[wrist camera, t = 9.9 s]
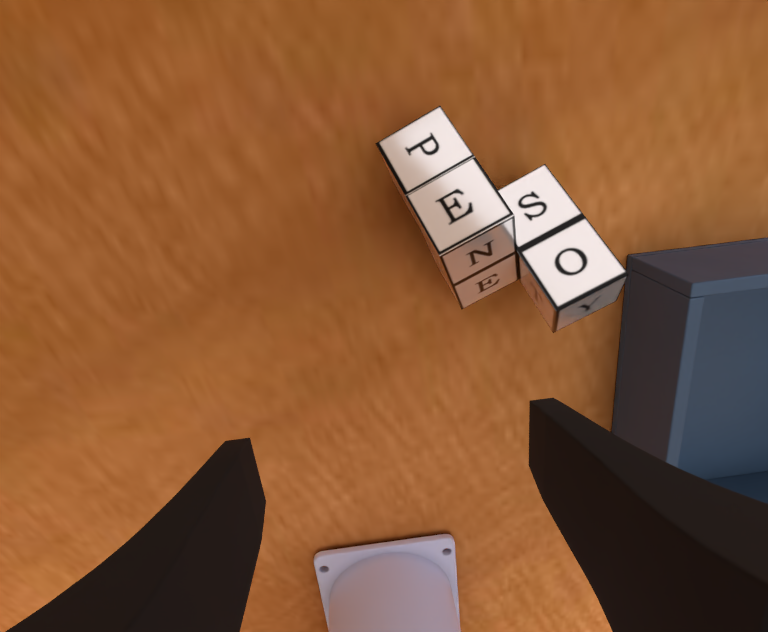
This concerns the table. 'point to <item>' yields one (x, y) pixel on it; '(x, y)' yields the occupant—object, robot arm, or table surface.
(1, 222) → the table surface
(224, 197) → the table surface
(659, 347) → the open box
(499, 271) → the building blocks
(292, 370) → the table surface
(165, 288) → the table surface
